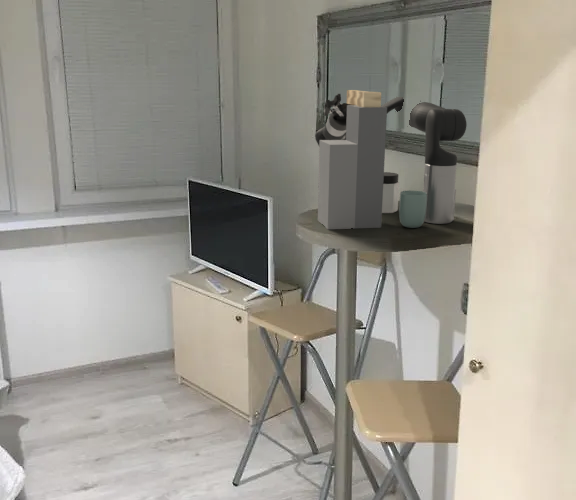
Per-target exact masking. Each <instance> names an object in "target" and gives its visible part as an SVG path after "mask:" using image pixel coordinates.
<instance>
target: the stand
mask: <svg viewBox="0 0 576 500" xmlns="http://www.w3.org/2000/svg"><path fill="white" fill-rule="evenodd" d="M387 117H388V113H387V107H359V106H357V105H347V120H346V140H342V139H341V140H319V145H318V147H319V148H318V187H317V188H318V190H317V193H318V194H317V222H319V223H320V224H321V225H322V224H323V225H324V226H325V227H324V226H323V225H322V226H323V227H324V228H325V229H327V230H345V229H348V230H349V229H350V230H351V228H353V229H375V228H377V229H379V228H382V219H383V218H382V216H383V213H382V201H383V181H384V172H385V160H386V159H385V157H386V156H385V155H386V154H385V153H386V138H387V136H386V135H387V133H386V132H387Z"/></svg>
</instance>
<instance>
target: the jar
mask: <svg viewBox="0 0 576 500" xmlns="http://www.w3.org/2000/svg"><path fill="white" fill-rule="evenodd" d="M399 198H400V182H399V173H396V172H388V171H386V172H385V171H384V181H383V201H382V214H394V213H395V212H397V211H399Z"/></svg>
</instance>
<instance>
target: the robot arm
mask: <svg viewBox="0 0 576 500" xmlns="http://www.w3.org/2000/svg"><path fill="white" fill-rule="evenodd" d="M341 101H342V97H341V93H337V94H336V95H334V97H333V98H332V100H330V99H326V100H325V103H324V105H323V108H322V109H323V116H325V117H328V118H327V120H326V123H325V125H324V126H323V127H322V128H319V129H318V130H316V132H315V134H314V139H315V141H316V143H317V146H319V140H346V120H347V105H352V104H347V102H343V103H342V102H341ZM403 102H404V99H403V97H397V96H396V98H395V97H394V98H392V99H390V100H389V101H387V102H385V103H383V104H381V107H387V114H388V113H390V112H392V111H393V110H394V111H395V110H396V111H397V112H398V111H400V110H401V109H402V106H403ZM396 111H395V112H396ZM409 125H410V126H411V127H410V128H414V129H416V130H418V131H421V132H422V133H425V138H424V139H425V142H424V143H425V145H424V157H425V158H424V169H423V183H422V184H423V186H422V192H426V193H427V207H426V215H425V220H424V222H423V223H430V224H436V225H437V224H439V225H440V224H441V225H442V224H451V223H452V222H453V221H454V220H455V209H456V208H455V207H456V198H457V196H456V195H457V194H456V193H457V189H456V179H457V177H456V176H457V164H458V156H457V155H456V154H455V153H452V152H449V151H446V150H445V149H443V148H442V147H441V146H440V142H455V141H458V140H460V139H462V138H463V136H464V135H465V133H466V130H467V127H468V126H467V125H468V124H467V118H466V116H465V114H464V112H463V111H461V110H460V109H457V108H445V107H442V106H440V105H437V104H436V103H435V104H434V103H432V102H428V101H427V102H425V101H424V102H422V101H421V103H419V104H417V105H416V106H415V107H414V108H413V109H412V111H411V113H410V120H409Z"/></svg>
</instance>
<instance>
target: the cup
mask: <svg viewBox="0 0 576 500" xmlns="http://www.w3.org/2000/svg"><path fill="white" fill-rule="evenodd" d="M426 207H427V193H426V192H423V190H422V191H421V190H402V191H399V199H398V217H399V222H400V225H402V226H403V227H404V228H407V229H408V228H410V229H417V228H420V227H422V225H424V223H425V222H424V220H425V215H426Z"/></svg>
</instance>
